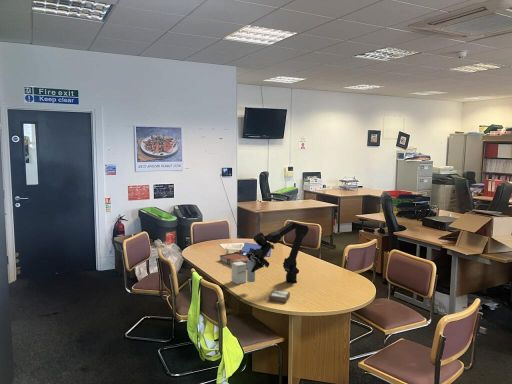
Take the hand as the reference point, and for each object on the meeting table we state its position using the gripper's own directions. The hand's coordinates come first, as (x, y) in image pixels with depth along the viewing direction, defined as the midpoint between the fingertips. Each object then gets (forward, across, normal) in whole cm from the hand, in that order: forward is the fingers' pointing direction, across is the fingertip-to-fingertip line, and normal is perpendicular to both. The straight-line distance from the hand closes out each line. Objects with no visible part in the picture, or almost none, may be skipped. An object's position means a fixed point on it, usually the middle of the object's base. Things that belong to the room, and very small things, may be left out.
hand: (249, 270), depth 243 cm
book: (-9, -55, +29) cm, 63 cm away
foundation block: (+4, +19, +16) cm, 25 cm away
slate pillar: (+4, 0, +6) cm, 7 cm away
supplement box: (+6, -19, +13) cm, 24 cm away
